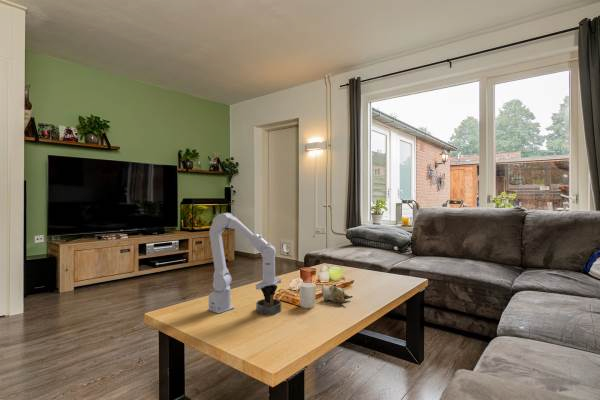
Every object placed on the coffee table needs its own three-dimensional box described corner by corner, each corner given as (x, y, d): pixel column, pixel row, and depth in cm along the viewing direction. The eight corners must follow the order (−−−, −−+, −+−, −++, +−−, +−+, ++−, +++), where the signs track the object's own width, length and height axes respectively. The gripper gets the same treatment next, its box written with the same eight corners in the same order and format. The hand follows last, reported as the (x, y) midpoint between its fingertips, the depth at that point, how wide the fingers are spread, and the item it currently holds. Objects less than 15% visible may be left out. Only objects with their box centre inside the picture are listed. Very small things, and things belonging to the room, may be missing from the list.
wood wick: (269, 311, 147) (268, 296, 147) (261, 309, 150) (260, 294, 150) (276, 308, 151) (276, 293, 151) (268, 306, 154) (268, 292, 154)
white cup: (314, 309, 152) (314, 287, 152) (297, 307, 154) (297, 286, 154) (317, 303, 160) (317, 283, 160) (301, 302, 162) (301, 282, 161)
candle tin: (269, 316, 143) (269, 308, 143) (251, 310, 150) (251, 303, 150) (285, 309, 152) (285, 302, 152) (268, 304, 158) (268, 297, 158)
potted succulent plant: (325, 279, 171) (353, 284, 165) (324, 296, 172) (352, 301, 165) (318, 285, 161) (347, 290, 155) (317, 302, 162) (346, 308, 156)
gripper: (263, 276, 142) (263, 307, 142) (286, 270, 154) (285, 299, 154) (252, 273, 147) (252, 304, 147) (274, 268, 158) (274, 296, 158)
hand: (268, 301), depth 151 cm, fingers closed on wood wick
